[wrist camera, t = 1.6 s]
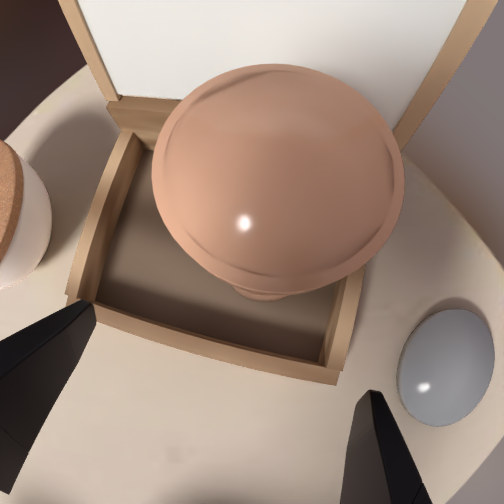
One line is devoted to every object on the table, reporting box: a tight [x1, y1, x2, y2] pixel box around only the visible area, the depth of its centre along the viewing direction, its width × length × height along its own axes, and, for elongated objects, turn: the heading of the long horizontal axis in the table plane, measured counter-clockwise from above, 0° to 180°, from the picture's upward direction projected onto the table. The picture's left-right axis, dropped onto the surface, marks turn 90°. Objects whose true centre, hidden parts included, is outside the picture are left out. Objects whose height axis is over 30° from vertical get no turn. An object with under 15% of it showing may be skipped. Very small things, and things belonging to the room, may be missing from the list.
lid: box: [58, 0, 498, 153], centre depth 10 cm, size 2×18×14 cm, turn 76°
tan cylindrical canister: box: [152, 64, 405, 303], centre depth 15 cm, size 7×7×14 cm
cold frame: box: [65, 96, 366, 386], centre depth 19 cm, size 14×18×6 cm
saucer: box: [397, 309, 495, 427], centre depth 20 cm, size 9×9×1 cm
